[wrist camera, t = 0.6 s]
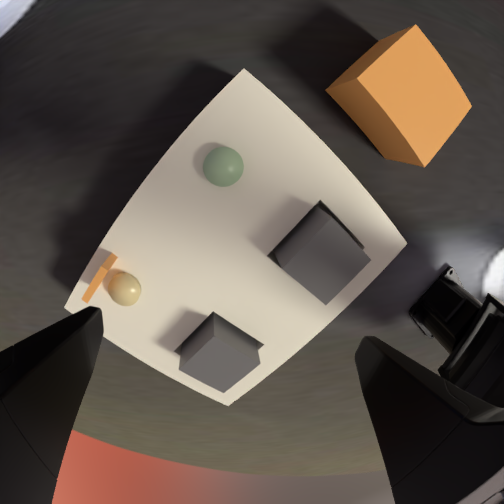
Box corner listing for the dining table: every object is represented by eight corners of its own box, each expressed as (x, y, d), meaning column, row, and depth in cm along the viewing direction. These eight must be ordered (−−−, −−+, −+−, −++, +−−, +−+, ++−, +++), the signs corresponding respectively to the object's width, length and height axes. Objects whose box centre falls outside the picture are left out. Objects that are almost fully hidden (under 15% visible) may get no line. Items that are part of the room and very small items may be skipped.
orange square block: (430, 106, 18) (471, 106, 14) (384, 158, 20) (424, 167, 15) (378, 41, 16) (415, 24, 11) (325, 90, 17) (356, 78, 13)
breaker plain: (351, 242, 20) (371, 259, 17) (312, 283, 20) (325, 305, 18) (315, 204, 18) (331, 217, 16) (272, 249, 19) (281, 269, 16)
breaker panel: (387, 230, 22) (422, 253, 17) (226, 382, 26) (229, 423, 21) (240, 78, 17) (247, 59, 12) (78, 288, 21) (53, 322, 16)
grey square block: (255, 336, 22) (260, 363, 19) (222, 366, 22) (223, 393, 20) (214, 309, 20) (214, 336, 18) (181, 342, 21) (178, 369, 18)
